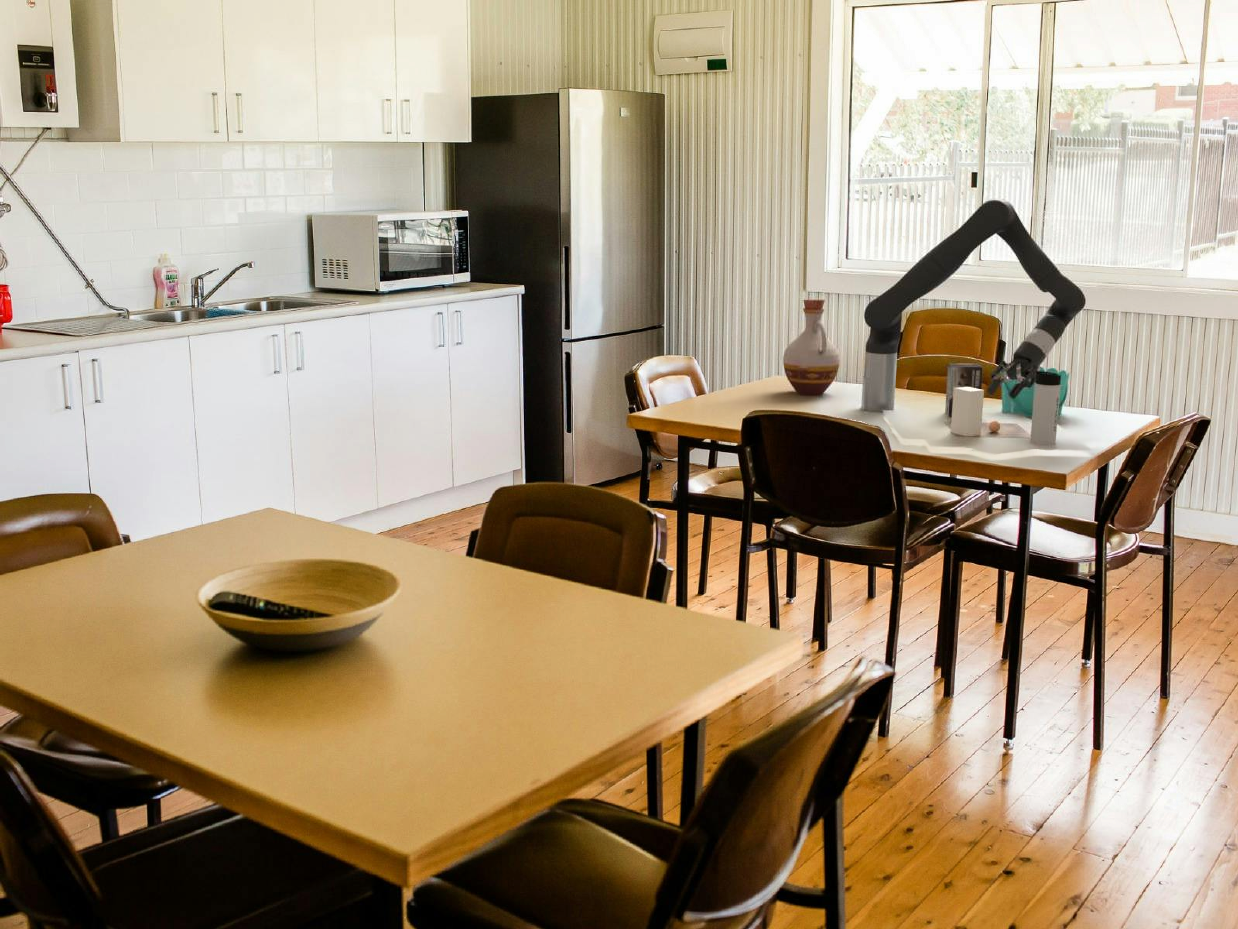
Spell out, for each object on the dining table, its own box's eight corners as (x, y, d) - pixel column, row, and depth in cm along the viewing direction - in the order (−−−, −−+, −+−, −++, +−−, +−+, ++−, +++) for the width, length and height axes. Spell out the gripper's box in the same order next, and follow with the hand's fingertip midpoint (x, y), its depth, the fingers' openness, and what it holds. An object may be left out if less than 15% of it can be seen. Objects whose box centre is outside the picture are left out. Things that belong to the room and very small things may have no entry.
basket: (1063, 409, 390) (1067, 367, 387) (1068, 420, 373) (1072, 376, 370) (997, 406, 395) (1000, 364, 392) (999, 417, 378) (1002, 373, 375)
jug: (849, 398, 405) (854, 301, 398) (795, 400, 401) (799, 302, 394) (825, 388, 424) (829, 295, 417) (773, 389, 420) (777, 296, 413)
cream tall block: (964, 430, 349) (967, 386, 347) (980, 434, 344) (984, 390, 341) (950, 432, 347) (953, 387, 344) (966, 436, 342) (969, 391, 339)
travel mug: (1024, 444, 340) (1031, 368, 335) (1049, 444, 340) (1055, 368, 336) (1034, 449, 334) (1040, 372, 329) (1059, 449, 334) (1065, 372, 330)
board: (956, 441, 342) (957, 436, 342) (943, 427, 362) (944, 421, 361) (1034, 443, 341) (1034, 438, 340) (1016, 428, 360) (1017, 423, 360)
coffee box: (976, 418, 374) (980, 363, 371) (979, 422, 368) (984, 366, 365) (943, 417, 375) (947, 362, 372) (947, 422, 369) (951, 365, 365)
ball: (989, 433, 346) (990, 422, 346) (987, 430, 349) (988, 419, 349) (1000, 433, 346) (1001, 422, 346) (998, 431, 349) (999, 420, 349)
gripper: (1008, 338, 356) (974, 383, 354) (1046, 342, 344) (1010, 388, 341) (1023, 356, 360) (989, 400, 357) (1060, 361, 347) (1025, 407, 344)
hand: (999, 394), depth 349 cm, fingers open, 8 cm apart
